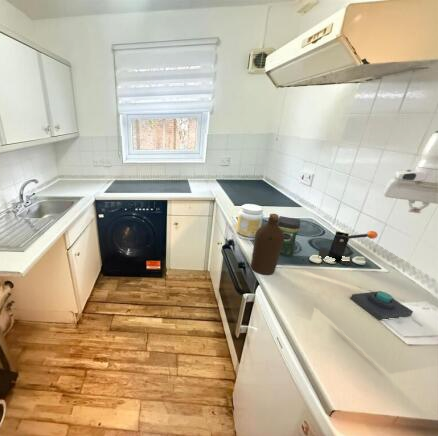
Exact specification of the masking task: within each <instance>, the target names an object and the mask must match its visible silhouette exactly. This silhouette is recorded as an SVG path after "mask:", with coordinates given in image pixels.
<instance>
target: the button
mask: <svg viewBox="0 0 438 436" xmlns="http://www.w3.org/2000/svg"><path fill="white" fill-rule="evenodd" d="M379 291H380V292H378V293H377V295H376V298H377V299H379V300H381V301H383V302H387V303H390V302H391V300H392V298H393V295H391V294H389V293H387V292H385V291H382V292H381V290H379Z"/></svg>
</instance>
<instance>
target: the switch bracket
mask: <svg viewBox="0 0 438 436" xmlns="http://www.w3.org/2000/svg"><path fill="white" fill-rule="evenodd" d="M342 234H345V236H342ZM347 236H350V233H348V232H343V231H338V230H336V231H335V234H334V237H333V240H332V243H331V246H330V248H329V250H325V249H321V248H319V249H318V257H319V256H321V257H322V258H321V259H322V260H325V259H324V258H325V257H326V256H329V257H332V258H335V259H336V260H335V261H333V262H334V263H338V264H341V265H346V266H350V267H353V263H352V256H349V255H345V251H346V249H347V246H348V243H349V241H350V239H349V237H347ZM342 256H345V257H350V258H351V259H350V261H342V260H341V259H342Z"/></svg>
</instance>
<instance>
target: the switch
mask: <svg viewBox="0 0 438 436" xmlns="http://www.w3.org/2000/svg"><path fill="white" fill-rule="evenodd" d="M342 236H345V234H342ZM347 237H349V240H350V239H359V238H360V239H361V238H368V239H373V240H374V239H376V238H378V232H376V231H374V230H369V231H367V233H362V234H353V235H352V234H351V235H349V236H347Z"/></svg>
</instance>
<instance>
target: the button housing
mask: <svg viewBox="0 0 438 436" xmlns="http://www.w3.org/2000/svg"><path fill="white" fill-rule="evenodd" d="M380 291H381V290H379V291H369V292H359V293H353V294H351V296H350V298H349V299H350V301H352V303H354V304H356V305H357V306H359V307H360V308H362V309H363V310H364V311H365V312H367V313H368V314H369V315H370V316H371V317H373V318H375V319H376V320H377V321H383V320H382V319H388V320H390V319H389V318H395V319H400V318H399V317H403V318H409V316H410V317H411V316H412V314H413V313H414V311H413V310H412V309H410V308H408V307H407V306H405V305H404V304H402V303H401V302H399V301H398V300H396V299H395V298H393V297H392V300H391V302H390V303H387V302H383V301H381V300H379V299H377V298H376V295H377V293H378V292H380ZM381 292H383V291H381Z"/></svg>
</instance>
